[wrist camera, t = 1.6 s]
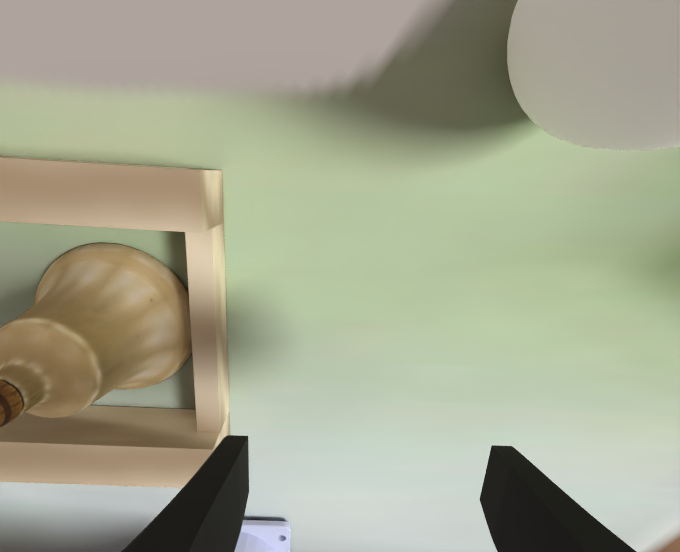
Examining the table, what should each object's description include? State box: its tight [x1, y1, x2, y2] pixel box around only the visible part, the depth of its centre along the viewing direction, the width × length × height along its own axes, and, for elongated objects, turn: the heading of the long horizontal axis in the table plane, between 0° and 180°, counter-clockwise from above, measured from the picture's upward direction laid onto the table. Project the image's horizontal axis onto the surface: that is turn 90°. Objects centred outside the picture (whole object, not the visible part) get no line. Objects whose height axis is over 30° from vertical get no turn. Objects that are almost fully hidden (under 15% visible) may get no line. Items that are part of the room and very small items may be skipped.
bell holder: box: [0, 156, 230, 488], centre depth 18 cm, size 16×11×3 cm
